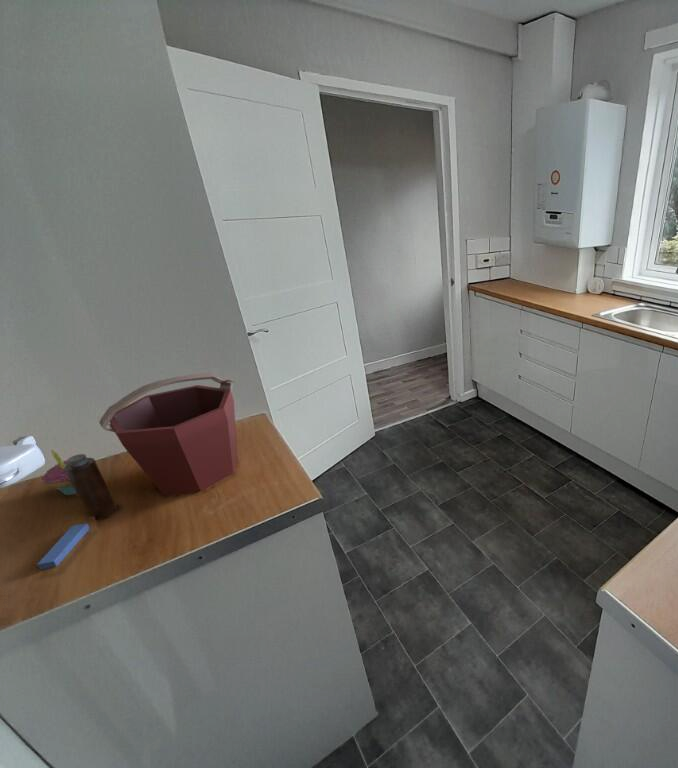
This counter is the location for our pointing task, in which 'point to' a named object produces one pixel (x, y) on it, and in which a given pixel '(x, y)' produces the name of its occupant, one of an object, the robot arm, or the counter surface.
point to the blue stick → (63, 546)
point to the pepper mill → (90, 486)
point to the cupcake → (59, 477)
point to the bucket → (179, 433)
